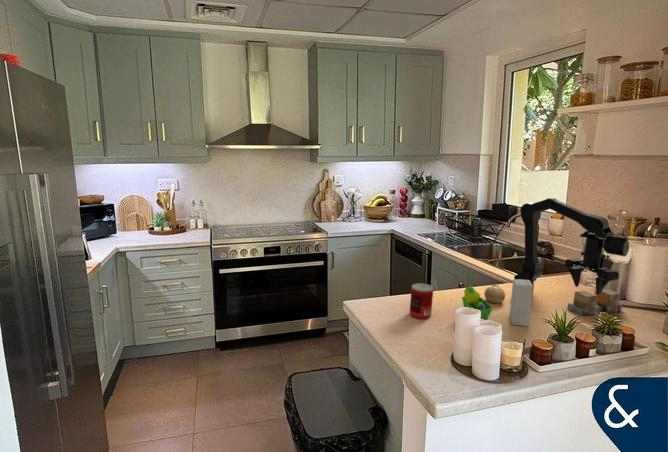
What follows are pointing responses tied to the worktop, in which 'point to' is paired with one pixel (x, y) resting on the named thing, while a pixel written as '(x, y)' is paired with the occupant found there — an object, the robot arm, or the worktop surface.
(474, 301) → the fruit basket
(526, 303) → the skincare box
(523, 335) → the worktop surface
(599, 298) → the taupe stone cube
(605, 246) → the robot arm
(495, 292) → the onion
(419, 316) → the canned food
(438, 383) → the worktop surface
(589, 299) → the grey stone block
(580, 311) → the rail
